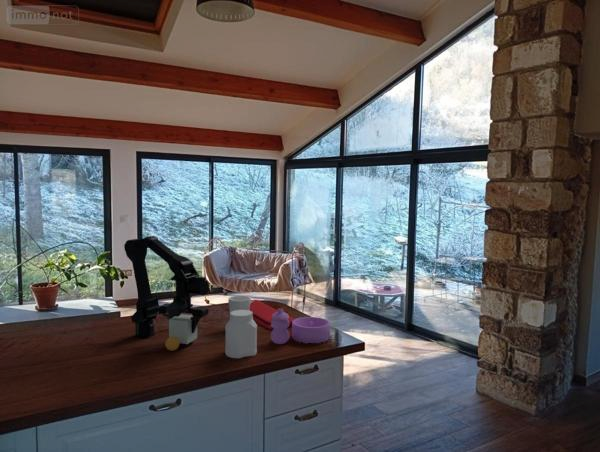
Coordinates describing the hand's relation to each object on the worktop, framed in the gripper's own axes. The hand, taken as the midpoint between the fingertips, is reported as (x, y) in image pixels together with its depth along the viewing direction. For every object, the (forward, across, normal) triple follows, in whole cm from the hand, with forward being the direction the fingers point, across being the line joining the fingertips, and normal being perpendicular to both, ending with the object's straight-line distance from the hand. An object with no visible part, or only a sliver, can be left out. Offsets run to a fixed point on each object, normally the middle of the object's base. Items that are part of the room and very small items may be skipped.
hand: (183, 332), depth 175 cm
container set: (+5, +41, +20) cm, 46 cm away
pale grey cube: (+3, 0, 0) cm, 3 cm away
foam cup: (+5, +12, +25) cm, 28 cm away
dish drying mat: (+5, +16, +45) cm, 48 cm away
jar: (+5, +25, -2) cm, 25 cm away
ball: (+2, 0, -8) cm, 8 cm away
